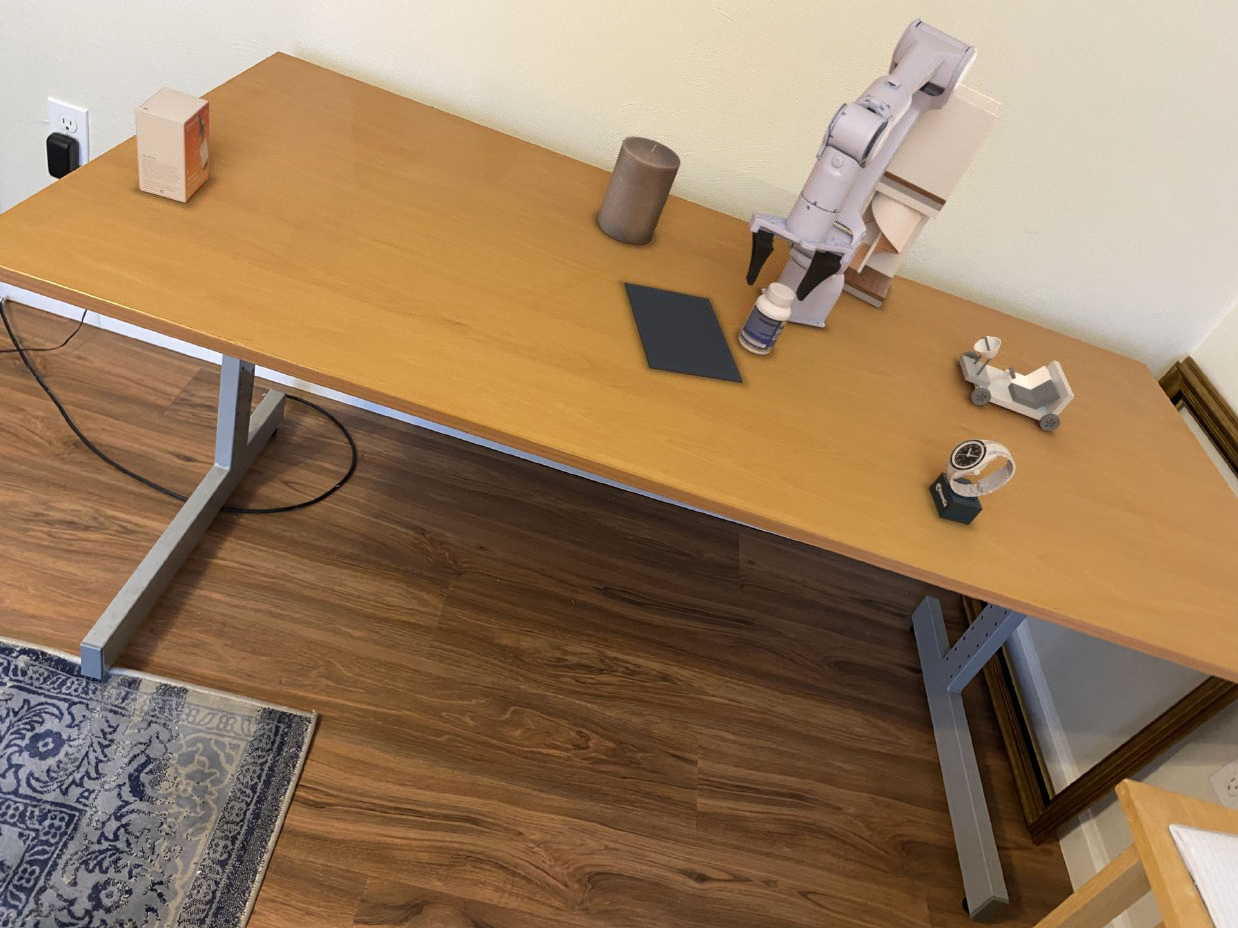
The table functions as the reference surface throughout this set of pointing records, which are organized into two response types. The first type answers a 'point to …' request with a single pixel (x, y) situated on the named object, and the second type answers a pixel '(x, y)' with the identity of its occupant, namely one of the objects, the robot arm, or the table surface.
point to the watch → (958, 493)
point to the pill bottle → (767, 319)
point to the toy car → (1017, 385)
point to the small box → (172, 144)
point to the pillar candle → (638, 190)
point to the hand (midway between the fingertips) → (774, 289)
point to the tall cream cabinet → (917, 188)
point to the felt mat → (681, 333)
